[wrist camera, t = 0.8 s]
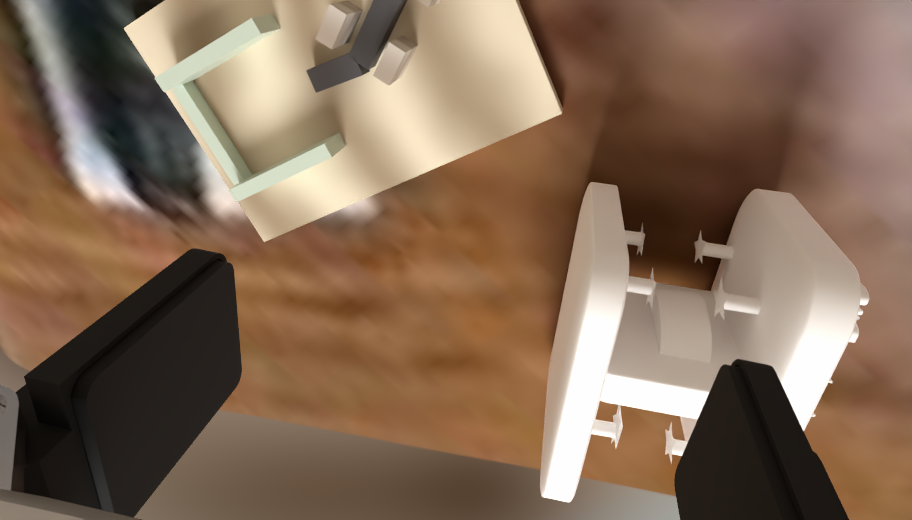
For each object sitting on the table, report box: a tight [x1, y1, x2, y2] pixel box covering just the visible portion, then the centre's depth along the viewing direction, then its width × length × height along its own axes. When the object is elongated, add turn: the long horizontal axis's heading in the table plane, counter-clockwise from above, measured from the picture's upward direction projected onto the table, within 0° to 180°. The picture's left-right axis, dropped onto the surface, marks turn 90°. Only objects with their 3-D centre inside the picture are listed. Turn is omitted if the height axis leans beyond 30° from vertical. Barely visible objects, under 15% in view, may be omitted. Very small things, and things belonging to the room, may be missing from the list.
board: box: [124, 0, 563, 242], centre depth 30 cm, size 20×14×4 cm
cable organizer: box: [540, 182, 869, 502], centre depth 30 cm, size 15×11×12 cm
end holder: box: [155, 14, 346, 202], centre depth 32 cm, size 7×8×2 cm
